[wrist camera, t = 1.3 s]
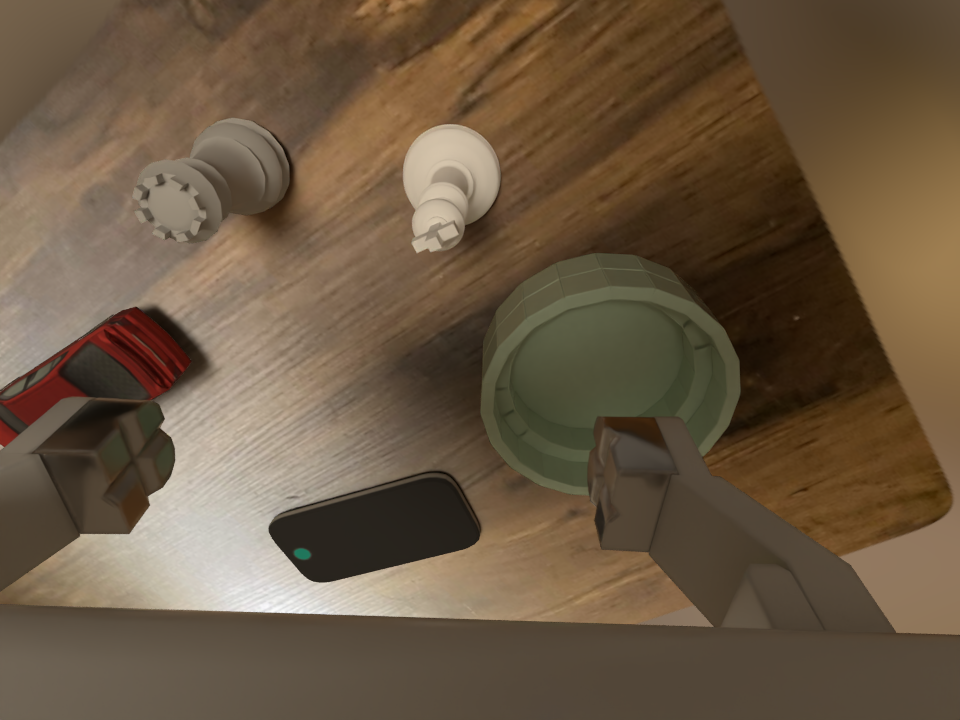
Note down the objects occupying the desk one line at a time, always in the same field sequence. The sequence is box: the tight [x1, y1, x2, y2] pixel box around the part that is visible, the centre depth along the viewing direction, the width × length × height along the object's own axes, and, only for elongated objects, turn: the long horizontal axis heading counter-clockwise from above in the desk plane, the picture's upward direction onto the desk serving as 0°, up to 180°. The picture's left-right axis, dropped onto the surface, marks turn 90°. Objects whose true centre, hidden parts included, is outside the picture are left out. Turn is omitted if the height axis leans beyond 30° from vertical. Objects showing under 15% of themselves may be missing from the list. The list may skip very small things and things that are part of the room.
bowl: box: [480, 253, 740, 495], centre depth 31 cm, size 13×13×5 cm
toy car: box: [0, 307, 192, 447], centre depth 32 cm, size 6×15×5 cm, turn 117°
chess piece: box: [403, 124, 501, 253], centre depth 23 cm, size 5×5×10 cm
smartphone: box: [269, 473, 480, 582], centre depth 40 cm, size 8×1×15 cm
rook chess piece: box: [132, 118, 289, 243], centre depth 24 cm, size 4×4×8 cm
